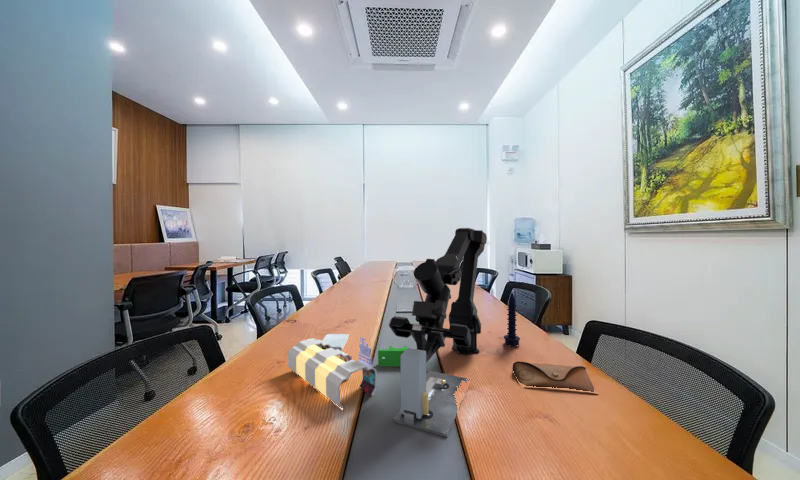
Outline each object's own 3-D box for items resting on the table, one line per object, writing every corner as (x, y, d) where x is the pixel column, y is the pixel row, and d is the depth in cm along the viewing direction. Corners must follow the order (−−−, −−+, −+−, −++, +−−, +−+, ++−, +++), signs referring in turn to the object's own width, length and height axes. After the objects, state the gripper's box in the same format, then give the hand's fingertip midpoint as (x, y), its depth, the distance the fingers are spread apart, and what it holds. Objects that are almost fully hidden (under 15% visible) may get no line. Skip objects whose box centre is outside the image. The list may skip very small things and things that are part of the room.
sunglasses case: (519, 388, 70) (516, 358, 73) (513, 389, 76) (511, 362, 79) (602, 395, 67) (595, 363, 70) (589, 396, 73) (583, 367, 76)
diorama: (376, 395, 68) (376, 339, 68) (338, 414, 61) (337, 352, 61) (322, 361, 86) (322, 317, 86) (288, 373, 79) (287, 325, 79)
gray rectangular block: (407, 402, 63) (407, 347, 63) (430, 408, 61) (430, 351, 61) (400, 413, 59) (399, 354, 59) (424, 420, 57) (424, 359, 57)
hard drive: (341, 347, 94) (348, 333, 106) (316, 347, 94) (326, 333, 106) (342, 352, 94) (348, 337, 106) (316, 352, 94) (326, 338, 106)
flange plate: (429, 372, 78) (429, 365, 78) (471, 381, 74) (471, 374, 74) (393, 421, 58) (392, 412, 58) (446, 437, 54) (446, 427, 54)
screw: (516, 341, 100) (522, 347, 95) (501, 341, 100) (506, 347, 95) (516, 289, 100) (522, 292, 95) (501, 289, 100) (507, 292, 95)
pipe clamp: (417, 361, 86) (417, 345, 86) (417, 367, 82) (417, 350, 82) (379, 360, 86) (379, 345, 86) (377, 366, 83) (377, 350, 82)
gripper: (391, 283, 72) (369, 344, 62) (468, 289, 64) (456, 359, 54) (405, 307, 79) (386, 365, 69) (475, 315, 71) (465, 381, 62)
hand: (420, 367), depth 63 cm, fingers closed
